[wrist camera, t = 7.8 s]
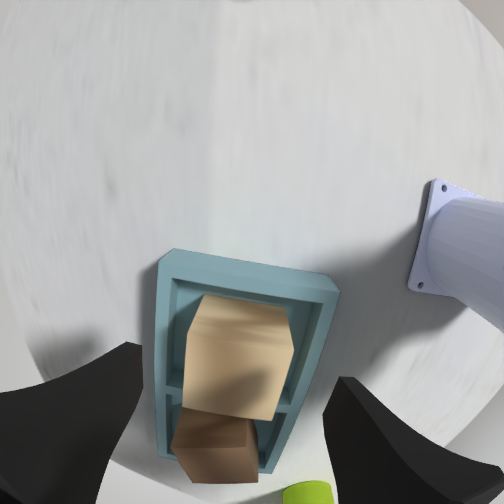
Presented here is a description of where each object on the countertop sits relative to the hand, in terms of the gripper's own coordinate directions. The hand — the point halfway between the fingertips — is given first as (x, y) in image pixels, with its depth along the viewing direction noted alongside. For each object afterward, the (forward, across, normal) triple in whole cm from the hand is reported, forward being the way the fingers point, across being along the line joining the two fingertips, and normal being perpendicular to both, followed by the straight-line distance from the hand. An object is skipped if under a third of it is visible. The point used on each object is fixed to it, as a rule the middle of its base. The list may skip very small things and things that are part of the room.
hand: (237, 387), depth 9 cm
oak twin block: (+8, 0, +3) cm, 9 cm away
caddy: (+9, 0, +7) cm, 12 cm away
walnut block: (+8, 0, +11) cm, 14 cm away
